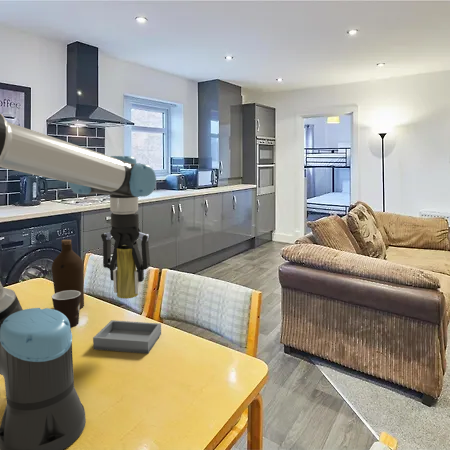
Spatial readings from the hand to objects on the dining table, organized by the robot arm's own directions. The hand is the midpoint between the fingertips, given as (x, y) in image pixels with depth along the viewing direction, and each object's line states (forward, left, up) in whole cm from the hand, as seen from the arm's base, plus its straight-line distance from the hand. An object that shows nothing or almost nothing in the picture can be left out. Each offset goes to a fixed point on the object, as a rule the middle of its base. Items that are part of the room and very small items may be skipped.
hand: (127, 291), depth 107 cm
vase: (0, 0, -1) cm, 1 cm away
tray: (0, 0, -15) cm, 15 cm away
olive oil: (+22, +31, -16) cm, 41 cm away
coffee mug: (+10, +24, -16) cm, 30 cm away
